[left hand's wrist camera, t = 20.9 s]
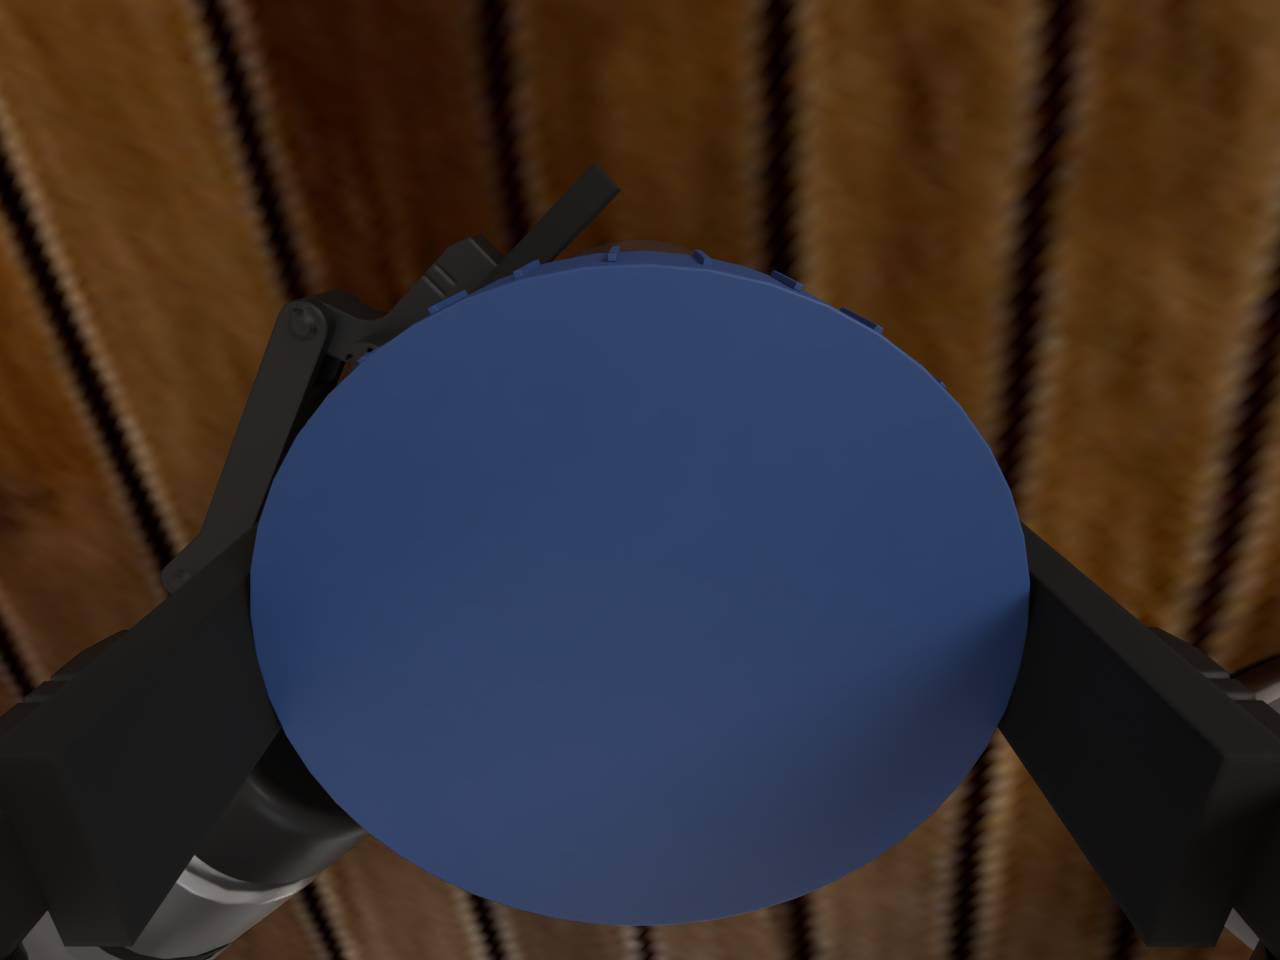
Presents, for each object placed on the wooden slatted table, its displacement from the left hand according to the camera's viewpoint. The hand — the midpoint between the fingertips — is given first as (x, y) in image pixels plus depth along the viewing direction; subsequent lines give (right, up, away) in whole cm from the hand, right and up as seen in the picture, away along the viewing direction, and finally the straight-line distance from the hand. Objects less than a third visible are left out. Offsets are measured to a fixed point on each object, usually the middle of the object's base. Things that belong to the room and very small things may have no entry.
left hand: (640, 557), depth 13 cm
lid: (0, -1, -3) cm, 3 cm away
